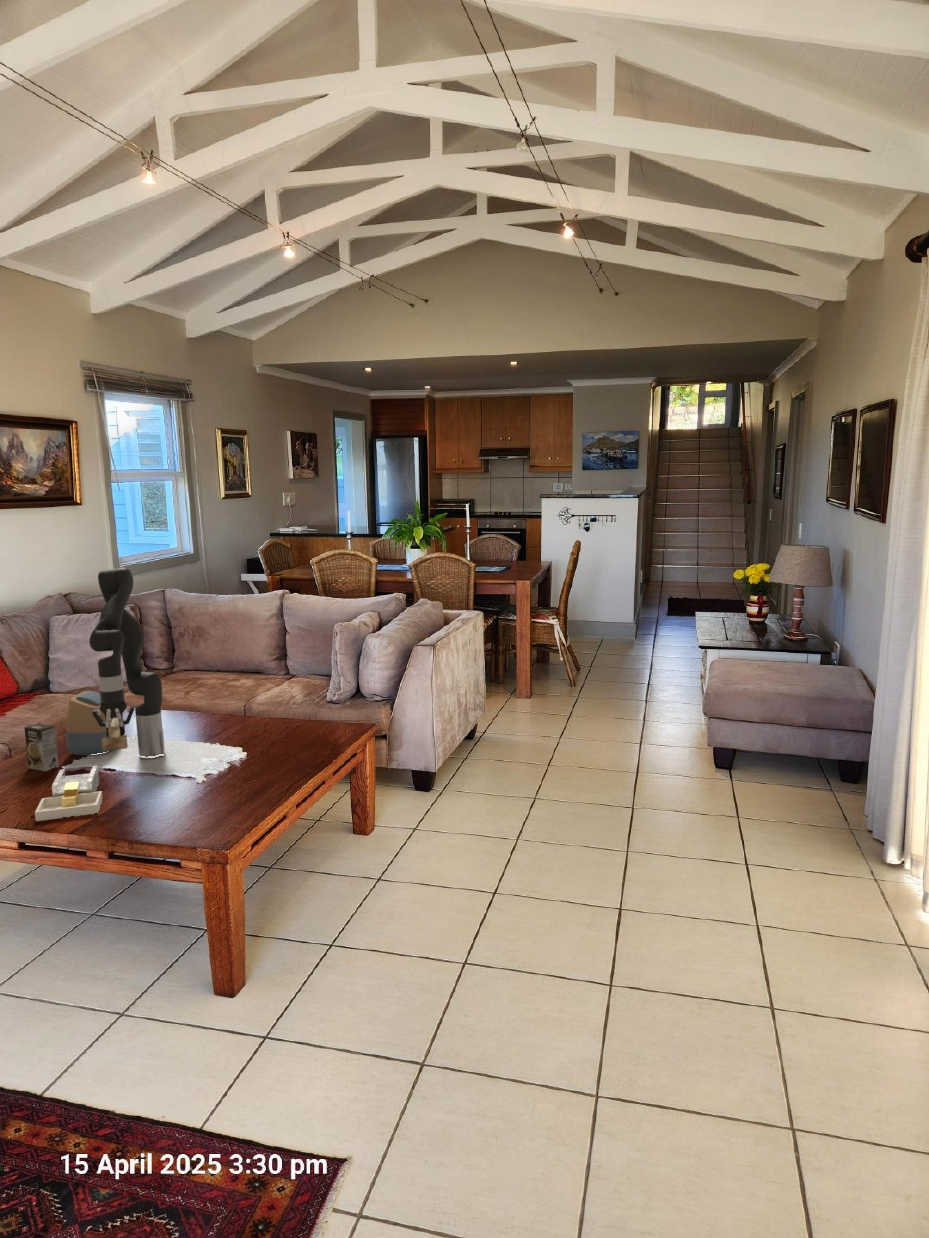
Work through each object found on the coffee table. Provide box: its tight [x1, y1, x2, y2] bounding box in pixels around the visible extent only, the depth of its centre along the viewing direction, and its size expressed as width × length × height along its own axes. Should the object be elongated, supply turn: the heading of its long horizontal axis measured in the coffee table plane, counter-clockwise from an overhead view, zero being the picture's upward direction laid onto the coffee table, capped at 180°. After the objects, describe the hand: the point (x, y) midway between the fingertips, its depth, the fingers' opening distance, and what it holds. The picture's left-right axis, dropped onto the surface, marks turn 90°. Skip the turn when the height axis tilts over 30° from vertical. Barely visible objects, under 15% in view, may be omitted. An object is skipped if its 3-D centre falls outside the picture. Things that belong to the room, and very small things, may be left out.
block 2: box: [61, 793, 78, 808], centre depth 258 cm, size 4×4×4 cm
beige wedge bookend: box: [102, 718, 129, 751], centre depth 274 cm, size 8×14×7 cm, turn 18°
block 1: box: [64, 782, 80, 799], centre depth 262 cm, size 4×4×4 cm
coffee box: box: [23, 722, 60, 772], centre depth 298 cm, size 9×6×16 cm
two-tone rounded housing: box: [65, 690, 117, 756], centre depth 316 cm, size 17×17×23 cm
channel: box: [51, 765, 100, 797], centre depth 272 cm, size 12×16×6 cm
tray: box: [34, 790, 104, 822], centre depth 258 cm, size 18×12×3 cm, turn 108°
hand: (116, 736), depth 273 cm, fingers closed on beige wedge bookend, 3 cm apart
